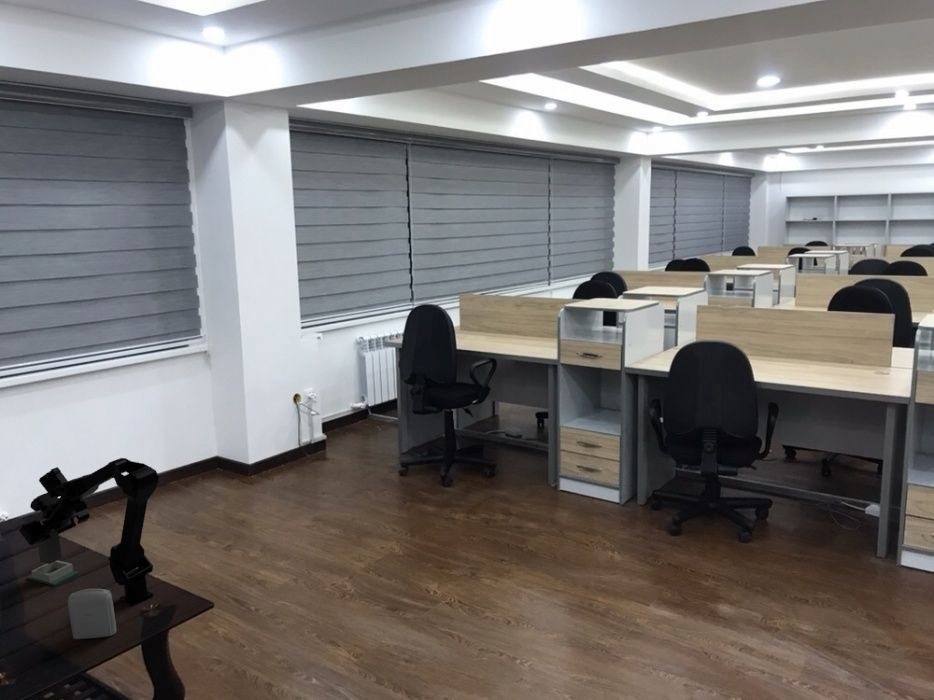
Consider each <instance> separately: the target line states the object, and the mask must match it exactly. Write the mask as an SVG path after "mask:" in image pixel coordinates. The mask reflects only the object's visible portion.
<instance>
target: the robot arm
mask: <svg viewBox="0 0 934 700" xmlns="http://www.w3.org/2000/svg"><path fill="white" fill-rule="evenodd" d="M125 473H127V474H126V475H124V474H125ZM112 479H114V482H115V484H116V486H117V487H119V488H120V489H122V493H123V494H124V496H125V498H126V501H127V502H126V506H125V512H124V520H123V524H122V531H121V537H120V542H119V543H118V544H115V545H113V546H111V548H110V553H109V558H108V560H109V568H110V571H111V575H112V576H113V579H114V582H115V583H117V584H118V586H123V591H124V595H121V596H120V597H119V600H121V602H123V603H126V604H128V605H130V606H135V605H136V604H139V603H141V602H143V601H145V600H148V599H149V598H152V597H153V596H154V593H153V592H150V591H149V590H148V584H147V578H146V575H148V574H150V573H152V572H153V568H154V565H153V564H152V562H151V561H150V560H149V559H148V557H147V556H146V555H145V548H144V547H143V545H142V544H141V540H142V534H143V529H144V523H145V517H146V511H147V506H148V501H149V499H150V498H151V496H152V495H153V494H154V492H155V491H156V488H157V486H158V483H159V479H160V478H159V474H158V472H157V470H156V469H154V468H153V467H152V466H149V465H147V464H146V463H141V462H137V461H133V460H129V459H128V458H126V457H120V458H117V459H115V460H111V461H110V462H108V463H106V465H104V466H102V467H100V468H99V469H96V470H95V471H94V472H92V473H90V474H89V473H88V474H85V475H82V476H79V477H76V478H72V479H71V480H68V479H67V478H66V477H65V475H64V474H63V473H62V470H61V469H60V468H59V467H58V466H57V467H54V468H51V469H50V471H47V472H46V473H45V474H44V475H42V476H41V477H39V479H38V482H39V483H40V484H41V486H42V487H43V488H44V490H45V491H46V493H42V494H41V495H38V496H36V498H35V497H34V498H33V500H32V501H30V508H31V510H33V511H34V512H36V513H37V512H41V513H42V515H41V516H42V518H43V520H44V519H47V520H44V521H42V520H38V521H37V520H35V519H32V520H29V521H27V522H25V523H23V524H21V525H20V527H19V530H18V531H19V533H20V534H21V536H22V537H23V538H24V539H25V541H26V542H27V543H28V545H30V546H34V545H37V544H38V543H40V542H42V541H44V540H46V539H48V538H51V536H50V532H51V530H53V529H54V530H55V531H57V530H58V535H59V534H62V533H65V532H66V531H69V530H70V529H73V528H75V527H76V526H77V524H79V525H81V524H83V523H85V522H87V521H88V520H89V519H90V516H91V515H90V512H89V510H88V505H87V503H86V501H85V500H84V498H86V497H88V496H91V495H93V494H94V493H95V492H96V491H98V489H99V487H100V486H101V485H102V484H104V483H106V482H108V481H110V480H112ZM75 519H77V520H78V521H77V524H76V522H75ZM40 521H42V523H43V524H41V522H40Z"/></svg>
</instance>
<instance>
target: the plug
mask: <svg viewBox="0 0 934 700" xmlns="http://www.w3.org/2000/svg"><path fill="white" fill-rule="evenodd" d="M44 520H47V519H46V518H45V519H44V518H43V519H42V520H39V521H40V522H41V524H43V523H42V521H44ZM50 536H51V538H48V539H46V540H44V541H42V542H40V543H37V548H38V555H39V556H38V557H39V561H40V563H44V564H51V563H53V562H55V561H57V560H58V561H60V560H61V559H63V556H62V550H61V543H60V537H59V534H58V530H57V531H55V530H54V529H53V530H51V532H50Z"/></svg>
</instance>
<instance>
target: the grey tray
mask: <svg viewBox="0 0 934 700" xmlns="http://www.w3.org/2000/svg"><path fill="white" fill-rule="evenodd" d="M77 575H80V571H77V570H74V567H73V563H71V562H66V561H61V560H57V561H55V562H53V563H51V564H47V563H44V564H43V565H41V566H39V567H36V568H35V569H33V570H31V574H30V575H28V576H26V579H27V580H30V581H33V582H37V583H42V584H45V585H48V586H53V587H57V586H58V585H60V584H62V583H64V582H66V581H67V580H70V579H71V578H73V577H75V576H77Z"/></svg>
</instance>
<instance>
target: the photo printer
mask: <svg viewBox="0 0 934 700" xmlns="http://www.w3.org/2000/svg"><path fill="white" fill-rule="evenodd" d="M67 599H68V600H67V605H68V612H69V613H68V614H69V619H70V624H71V625H70V626H71V632H72V637H73V639H74V640H82V639H83V640H84V639H94V638H95V639H97V638H105V637H111V636H114V635H115V634H116V633H117V624H116V617H115V616H116V615H115V609H114V603H113V595H112V592H111V590H109V589H103V588H86V589H82V590H78V591H75V592H72V593H71V594H70V595H69V596H68V598H67Z"/></svg>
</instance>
